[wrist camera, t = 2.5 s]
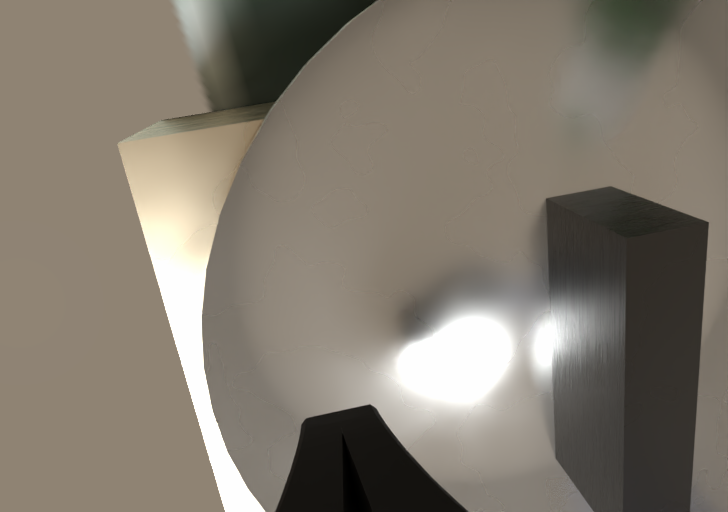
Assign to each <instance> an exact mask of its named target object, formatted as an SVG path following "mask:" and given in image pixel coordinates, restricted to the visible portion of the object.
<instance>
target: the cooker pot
mask: <svg viewBox="0 0 728 512" xmlns="http://www.w3.org/2000/svg"><path fill="white" fill-rule="evenodd" d="M274 103H275V102H271V103H264V104H258V105H252V106H246V107H240V108H234V109H228V110H221V111H215V112H209V113H203V114H197V115H191V116H185V117H179V118H173V119H166V120H161V121H159V122H157V123H155V124H153V125H151V126H149V127H147V128H146V129H144V130H142V131H140V132H138V133H136V134H134V135H132V136H130V137H128V138H126V139H125V140H123V141H121V142H119V143H118V147H119V151H120V154H121V158H122V161H123V165H124V168H125V171H126V175H127V178H128V182H129V185H130V188H131V192H132V195H133V198H134V202H135V205H136V209H137V212H138V215H139V219H140V222H141V226H142V229H143V233H144V236H145V239H146V243H147V246H148V250H149V253H150V256H151V260H152V263H153V267H154V270H155V273H156V277H157V280H158V284H159V287H160V290H161V294H162V297H163V300H164V304H165V307H166V311H167V314H168V318H169V321H170V324H171V328H172V331H173V335H174V338H175V341H176V345H177V348H178V352H179V355H180V358H181V362H182V365H183V368H184V372H185V375H186V379H187V382H188V385H189V389H190V392H191V396H192V399H193V402H194V406H195V409H196V413H197V416H198V420H199V423H200V426H201V430H202V433H203V437H204V440H205V443H206V447H207V450H208V454H209V457H210V460H211V464H212V467H213V471H214V474H215V477H216V481H217V484H218V488H219V491H220V494H221V498H222V501H223V505H224V508H225V511H226V512H265V511H264V509H263V508H262V507H261V505H260V504H259V503H258V502H257V500H256V499H255V498H254V496H253V495H252V494H251V493H250V491H249V490H248V489H247V487H246V485H245V483H244V482H243V480H242V478H241V476H240V474H239V473H238V471H237V469H236V467H235V465H234V464H233V462H232V460H231V458H230V456H229V455H228V453H227V450H226V447H225V445H224V442H223V439H222V437H221V434H220V431H219V428H218V426H217V423H216V420H215V417H214V415H213V412H212V407H211V402H210V397H209V392H208V387H207V382H206V377H205V372H204V367H203V347H202V325H201V316H202V306H203V296H204V287H205V277H206V268H207V264H208V260H209V256H210V252H211V248H212V244H213V240H214V236H215V232H216V228H217V224H218V220H219V216H220V213H221V210H222V207H223V204H224V202H225V199H226V197H227V195H228V192H229V190H230V187H231V185H232V182H233V180H234V177H235V175H236V172H237V170H238V168H239V165H240V163H241V160H242V158H243V155H244V154H245V152H246V150H247V148H248V147H249V145H250V143H251V141H252V140H253V138H254V136H255V135H256V133H257V131H258V129H259V128H260V126H261V124H262V122H263V121H264V119H265V117H266V115H267V114H268V112H269V110H270V109H271V107H272V106H273V105H274Z"/></svg>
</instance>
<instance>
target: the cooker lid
mask: <svg viewBox="0 0 728 512" xmlns="http://www.w3.org/2000/svg"><path fill="white" fill-rule="evenodd" d="M201 325H202V347H203V367H204V372H205V377H206V382H207V387H208V392H209V397H210V402H211V407H212V412H213V415H214V417H215V420H216V423H217V426H218V428H219V431H220V434H221V437H222V439H223V442H224V445H225V447H226V450H227V453H228V455H229V456H230V458H231V460H232V462H233V464H234V465H235V467H236V469H237V471H238V473H239V474H240V476H241V478H242V480H243V482H244V483H245V485H246V487H247V489H248V490H249V491H250V493H251V494H252V495H253V496H254V498H255V499H256V500H257V502H258V503H259V504H260V505H261V507H262V508H263V509H264V511H265V512H275V511H276V508H277V506H278V503H279V501H280V498H281V495H282V492H283V489H284V487H285V484H286V481H287V478H288V475H289V473H290V470H291V466H292V463H293V460H294V456H295V453H296V449H297V445H298V441H299V436H300V431H301V424H302V423H303V422H304V420H305V419H306V418H309V417H313V416H318V415H323V414H327V413H332V412H336V411H341V410H346V409H350V408H355V407H359V406H364V405H369V404H371V405H372V406H374V407H375V408H377V410H378V412H379V414H380V415H381V417H382V418H383V420H384V421H385V423H386V424H387V426H388V427H389V428H390V430H391V431H392V432H393V434H394V435H395V436H396V437H397V439H398V440H399V441H400V442H401V444H402V445H403V446H404V447H405V448H406V450H407V451H408V452H409V453H410V454H411V455H412V456H413V457H414V458H415V460H416V461H417V462H418V463H419V464H420V465H421V466H422V467H423V468H424V469H425V470H426V471H427V473H428V474H429V475H430V476H431V477H432V478H433V479H434V480H435V481H436V482H437V483H438V484H439V485H440V486H441V487H442V488H444V489H445V490H446V491H447V492H448V493H449V494H450V495H451V496H452V497H453V498H454V499H455V500H456V501H457V502H459V503H460V504H461V505H462V506H463V507H464V508H465V509H466V510H468V511H469V512H728V0H377V1H375V2H374V3H373V4H371V5H370V6H369V7H367V8H366V9H365V10H363V11H362V12H361V13H359V14H358V15H357V16H355V17H354V18H353V19H351V20H350V21H349V22H347V23H346V24H345V25H344V26H343V27H342V28H341V29H340V30H339V31H338V32H337V33H336V34H335V35H334V36H333V37H332V38H331V39H330V40H329V41H328V42H327V43H326V44H325V45H324V46H323V47H322V48H321V49H320V50H319V51H318V52H317V53H316V54H315V55H313V56H312V57H311V58H310V59H309V60H308V61H307V62H306V63H305V65H304V66H303V67H302V68H301V70H300V71H299V72H298V74H297V75H296V76H295V77H294V79H293V80H292V81H291V83H290V84H289V85H288V87H287V88H286V89H285V90H284V92H283V93H282V94H281V96H280V97H279V98H278V99H277V101H276V102H275V103H274V105H273V106H272V107H271V109H270V110H269V112H268V114H267V115H266V117H265V119H264V121H263V122H262V124H261V126H260V128H259V129H258V131H257V133H256V135H255V136H254V138H253V140H252V141H251V143H250V145H249V147H248V148H247V150H246V152H245V154H244V155H243V158H242V160H241V163H240V165H239V168H238V170H237V172H236V175H235V177H234V180H233V182H232V185H231V187H230V190H229V192H228V195H227V197H226V199H225V202H224V204H223V207H222V210H221V213H220V216H219V220H218V224H217V228H216V232H215V236H214V240H213V244H212V248H211V252H210V256H209V260H208V264H207V268H206V277H205V287H204V296H203V306H202V316H201Z"/></svg>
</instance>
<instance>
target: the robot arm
mask: <svg viewBox="0 0 728 512" xmlns="http://www.w3.org/2000/svg"><path fill="white" fill-rule="evenodd" d="M275 512H469V511H468V510H466V509H465V508H464V507H463V506H462V505H461V504H460V503H459V502H457V501H456V500H455V499H454V498H453V497H452V496H451V495H450V494H449V493H448V492H447V491H446V490H445V489H444V488H442V487H441V486H440V485H439V484H438V483H437V482H436V481H435V480H434V479H433V478H432V477H431V476H430V475H429V474H428V473H427V471H426V470H425V469H424V468H423V467H422V466H421V465H420V464H419V463H418V462H417V461H416V460H415V458H414V457H413V456H412V455H411V454H410V453H409V452H408V451H407V450H406V448H405V447H404V446H403V445H402V444H401V442H400V441H399V440H398V439H397V437H396V436H395V435H394V434H393V432H392V431H391V430H390V428H389V427H388V426H387V424H386V423H385V421H384V420H383V418H382V417H381V415H380V414H379V412H378V410H377V408H375V407H374V406H372V405H371V404H369V405H364V406H359V407H355V408H350V409H346V410H341V411H336V412H332V413H327V414H323V415H318V416H313V417H309V418H306V419H305V420H304V422H303V423H302V424H301V431H300V436H299V441H298V445H297V449H296V453H295V456H294V460H293V463H292V466H291V470H290V473H289V475H288V478H287V481H286V484H285V487H284V489H283V492H282V495H281V498H280V501H279V503H278V506H277V508H276V511H275Z"/></svg>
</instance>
